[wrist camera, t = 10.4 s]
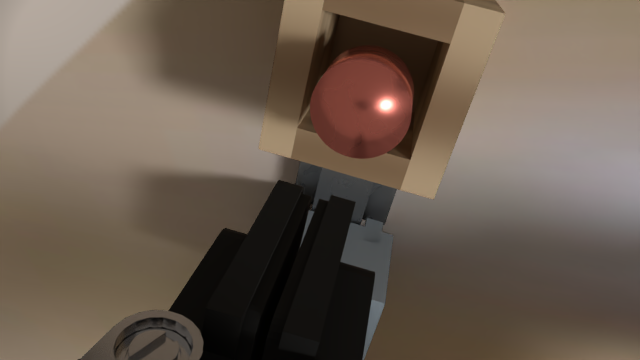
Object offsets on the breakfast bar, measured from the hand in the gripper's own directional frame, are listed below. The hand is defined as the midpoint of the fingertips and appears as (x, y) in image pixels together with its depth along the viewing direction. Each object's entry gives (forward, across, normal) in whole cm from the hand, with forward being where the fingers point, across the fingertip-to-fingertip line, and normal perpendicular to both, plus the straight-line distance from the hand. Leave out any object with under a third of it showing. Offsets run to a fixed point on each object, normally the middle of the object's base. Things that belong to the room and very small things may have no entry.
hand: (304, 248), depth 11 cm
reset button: (+14, 0, 0) cm, 14 cm away
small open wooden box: (+19, 0, 0) cm, 19 cm away
